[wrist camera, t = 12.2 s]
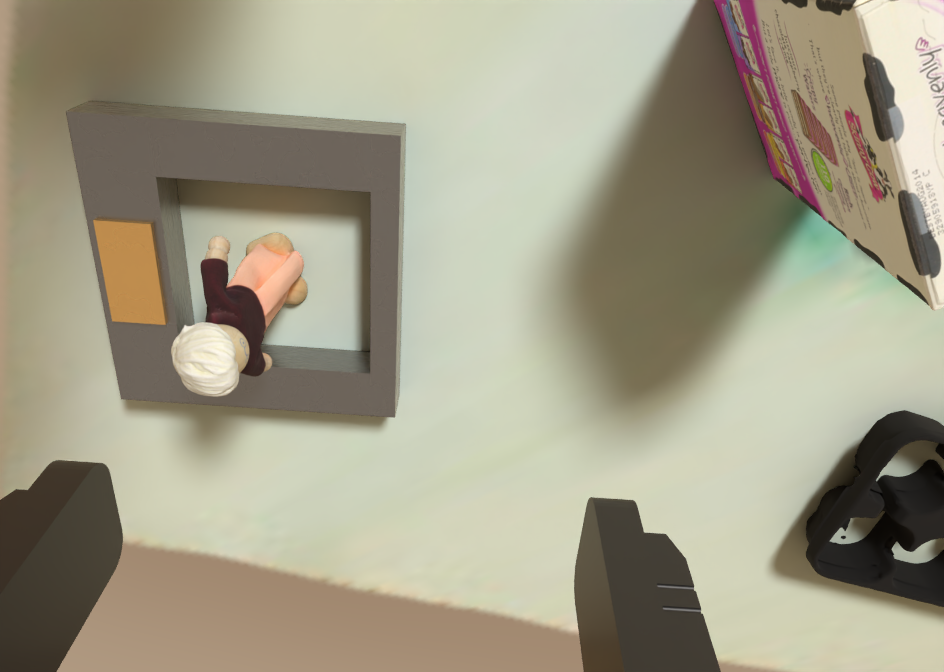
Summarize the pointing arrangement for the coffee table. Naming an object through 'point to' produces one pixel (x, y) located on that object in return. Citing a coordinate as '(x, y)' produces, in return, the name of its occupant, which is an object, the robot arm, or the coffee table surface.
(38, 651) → the robot arm
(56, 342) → the coffee table surface
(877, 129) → the candy bar box
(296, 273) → the grandmother figurine
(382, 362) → the holder board
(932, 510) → the egg carton
